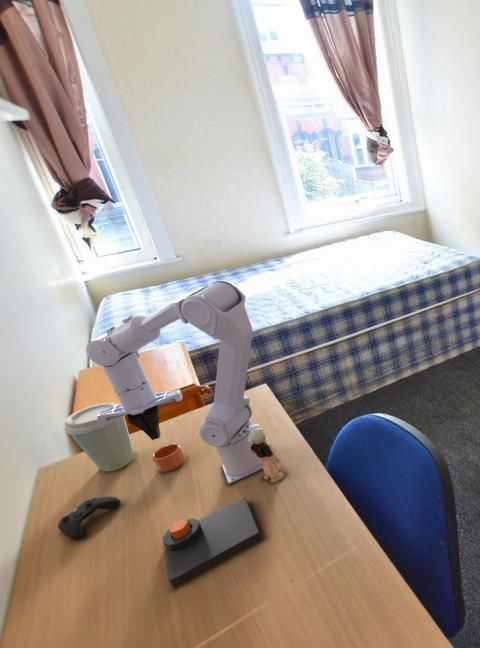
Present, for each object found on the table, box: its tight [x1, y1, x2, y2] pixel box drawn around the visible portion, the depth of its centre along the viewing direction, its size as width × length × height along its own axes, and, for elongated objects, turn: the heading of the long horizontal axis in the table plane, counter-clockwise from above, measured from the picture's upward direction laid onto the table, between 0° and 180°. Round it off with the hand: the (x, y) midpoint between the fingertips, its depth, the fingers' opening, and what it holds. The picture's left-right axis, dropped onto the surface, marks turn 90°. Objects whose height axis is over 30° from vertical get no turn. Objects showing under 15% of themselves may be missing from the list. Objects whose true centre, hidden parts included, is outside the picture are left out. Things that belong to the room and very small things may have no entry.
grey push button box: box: [162, 496, 263, 589], centre depth 87 cm, size 14×12×4 cm
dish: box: [151, 443, 186, 473], centre depth 109 cm, size 5×5×4 cm
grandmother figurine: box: [248, 427, 285, 483], centre depth 100 cm, size 8×4×13 cm, turn 71°
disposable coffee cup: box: [63, 401, 134, 473], centre depth 109 cm, size 11×11×15 cm
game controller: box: [57, 496, 122, 541], centre depth 95 cm, size 10×5×6 cm
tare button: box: [169, 519, 190, 539], centre depth 86 cm, size 3×3×2 cm
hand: (156, 436), depth 104 cm, fingers closed
